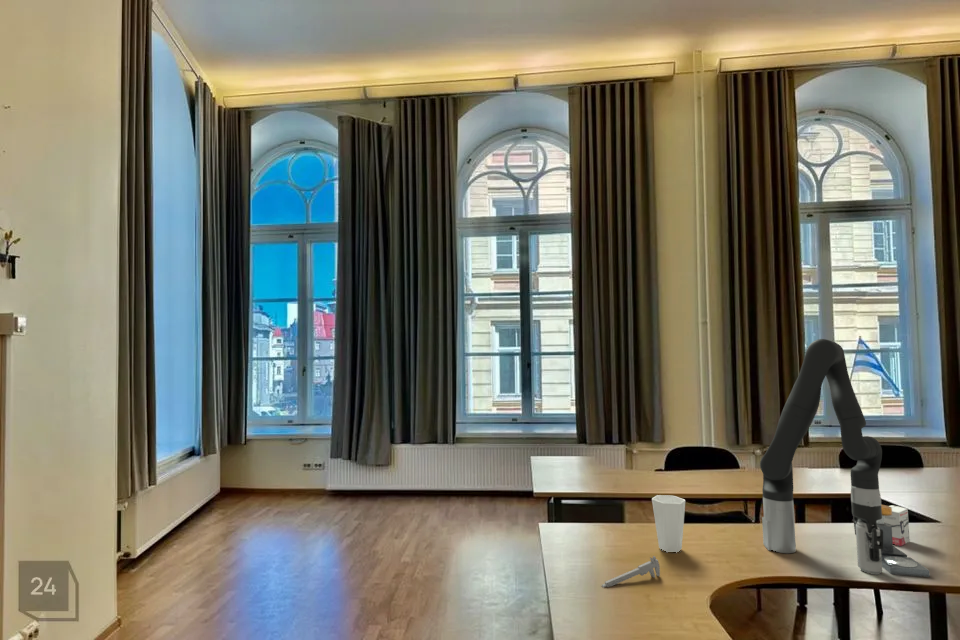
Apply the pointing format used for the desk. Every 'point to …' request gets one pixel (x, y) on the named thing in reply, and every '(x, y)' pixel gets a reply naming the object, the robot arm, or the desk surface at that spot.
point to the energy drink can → (866, 551)
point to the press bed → (903, 566)
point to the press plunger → (884, 514)
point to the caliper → (636, 572)
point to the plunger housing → (889, 542)
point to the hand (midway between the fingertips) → (869, 556)
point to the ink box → (898, 525)
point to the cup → (669, 521)
